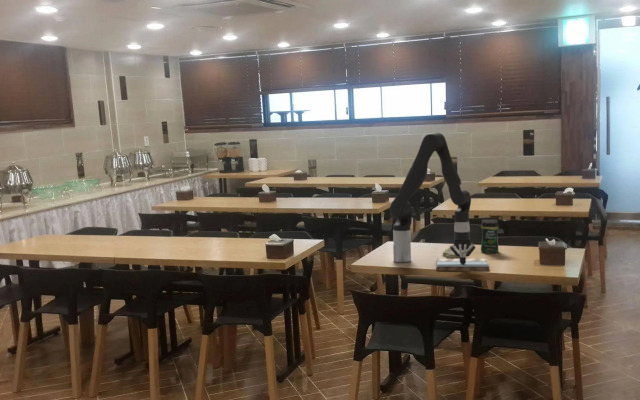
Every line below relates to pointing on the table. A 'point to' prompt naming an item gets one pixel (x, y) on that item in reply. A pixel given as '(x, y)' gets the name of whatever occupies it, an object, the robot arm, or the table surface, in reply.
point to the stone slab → (451, 254)
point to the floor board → (462, 267)
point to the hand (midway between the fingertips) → (462, 264)
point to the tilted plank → (457, 264)
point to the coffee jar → (489, 236)
